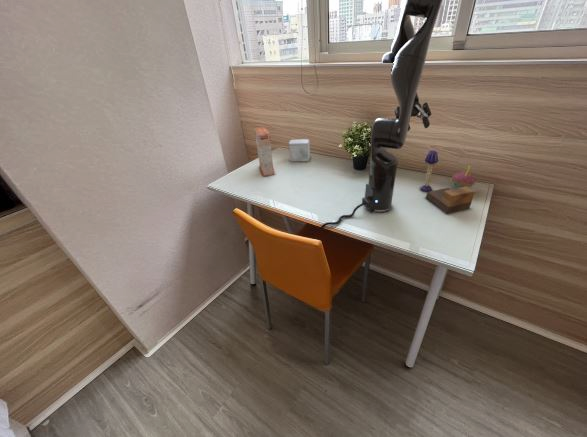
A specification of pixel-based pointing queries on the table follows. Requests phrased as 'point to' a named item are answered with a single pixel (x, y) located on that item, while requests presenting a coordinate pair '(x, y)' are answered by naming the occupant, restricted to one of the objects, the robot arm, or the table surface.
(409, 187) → the table surface
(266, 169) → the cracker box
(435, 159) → the toy lamp
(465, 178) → the cupcake
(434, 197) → the tiered shelf
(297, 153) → the cosmetics box
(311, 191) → the table surface
